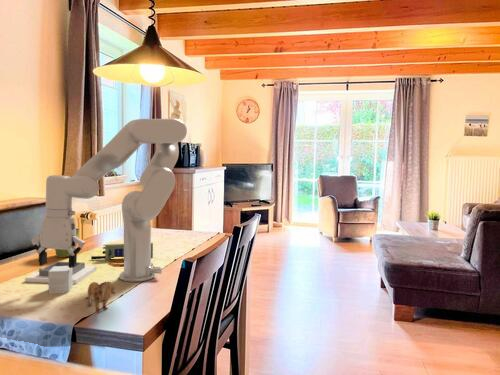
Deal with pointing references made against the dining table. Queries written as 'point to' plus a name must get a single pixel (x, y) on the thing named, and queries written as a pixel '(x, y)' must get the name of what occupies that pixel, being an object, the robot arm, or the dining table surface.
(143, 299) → the dining table surface
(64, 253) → the plant pot
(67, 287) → the product box
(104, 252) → the handheld radio
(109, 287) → the lion figurine
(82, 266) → the dock
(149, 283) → the dining table surface
